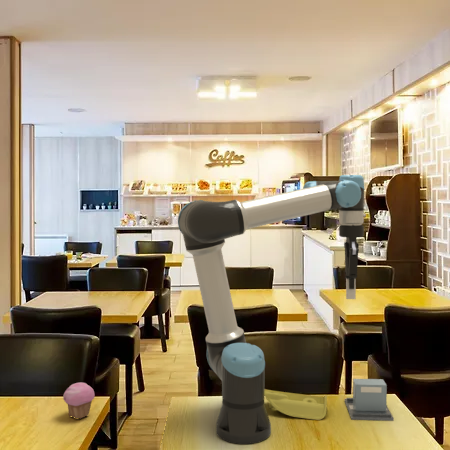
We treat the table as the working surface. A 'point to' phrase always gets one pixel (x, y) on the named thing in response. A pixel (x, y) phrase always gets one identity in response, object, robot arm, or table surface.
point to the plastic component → (297, 404)
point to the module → (369, 394)
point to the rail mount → (367, 413)
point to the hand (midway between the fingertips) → (350, 298)
